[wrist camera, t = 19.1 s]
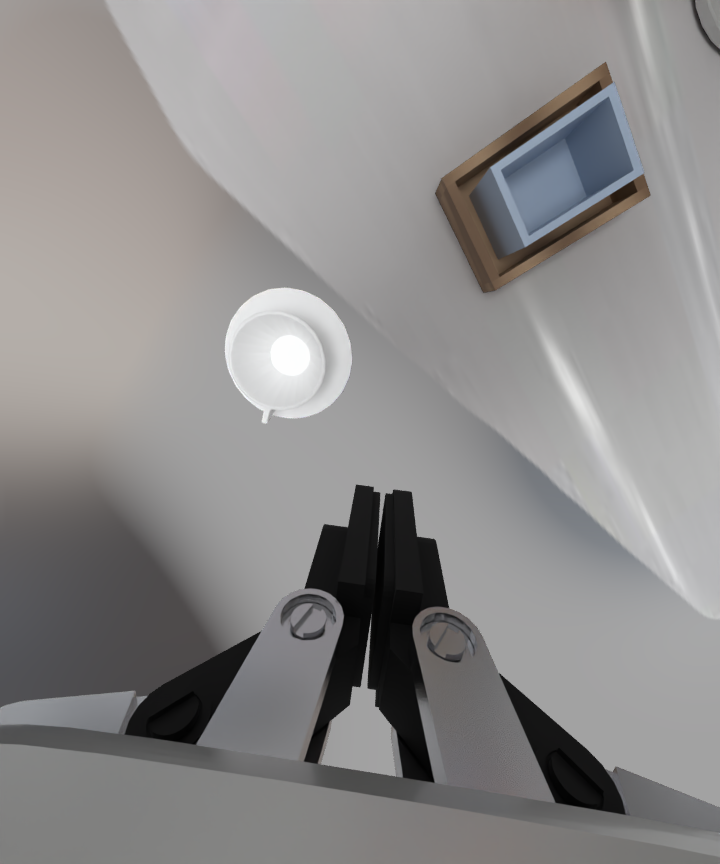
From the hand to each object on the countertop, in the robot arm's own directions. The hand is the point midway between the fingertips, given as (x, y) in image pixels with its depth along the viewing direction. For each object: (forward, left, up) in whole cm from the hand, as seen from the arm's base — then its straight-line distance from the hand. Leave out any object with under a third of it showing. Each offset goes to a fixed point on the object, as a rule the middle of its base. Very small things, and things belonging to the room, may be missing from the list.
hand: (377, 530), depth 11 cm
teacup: (+9, -1, -25) cm, 27 cm away
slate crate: (-10, -16, -25) cm, 31 cm away
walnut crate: (-10, -16, -25) cm, 31 cm away
